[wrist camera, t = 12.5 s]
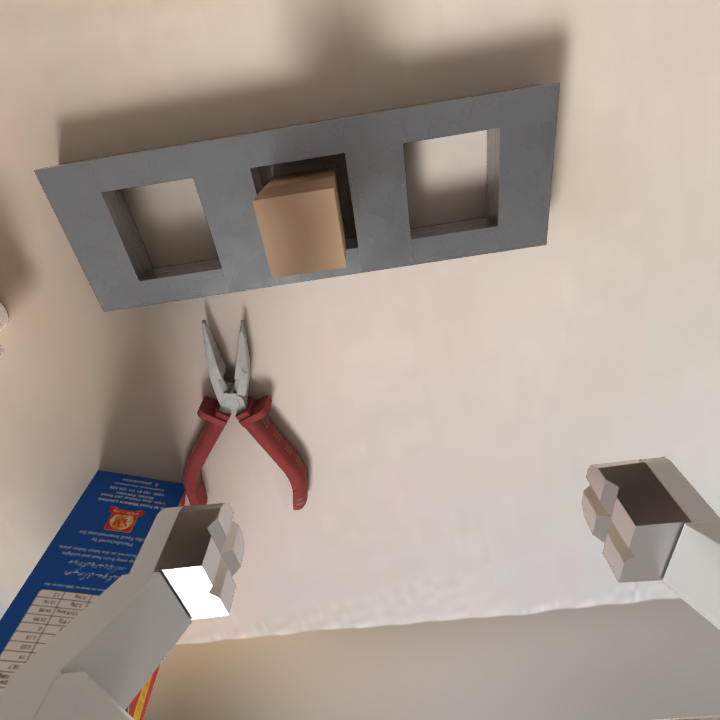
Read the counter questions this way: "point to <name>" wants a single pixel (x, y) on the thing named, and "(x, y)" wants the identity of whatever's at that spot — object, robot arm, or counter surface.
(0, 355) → the pipe fitting
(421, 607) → the counter surface
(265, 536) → the counter surface
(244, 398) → the pliers
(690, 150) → the counter surface
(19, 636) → the pasta box
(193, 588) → the robot arm
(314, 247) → the square peg
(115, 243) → the grey peg hole board
